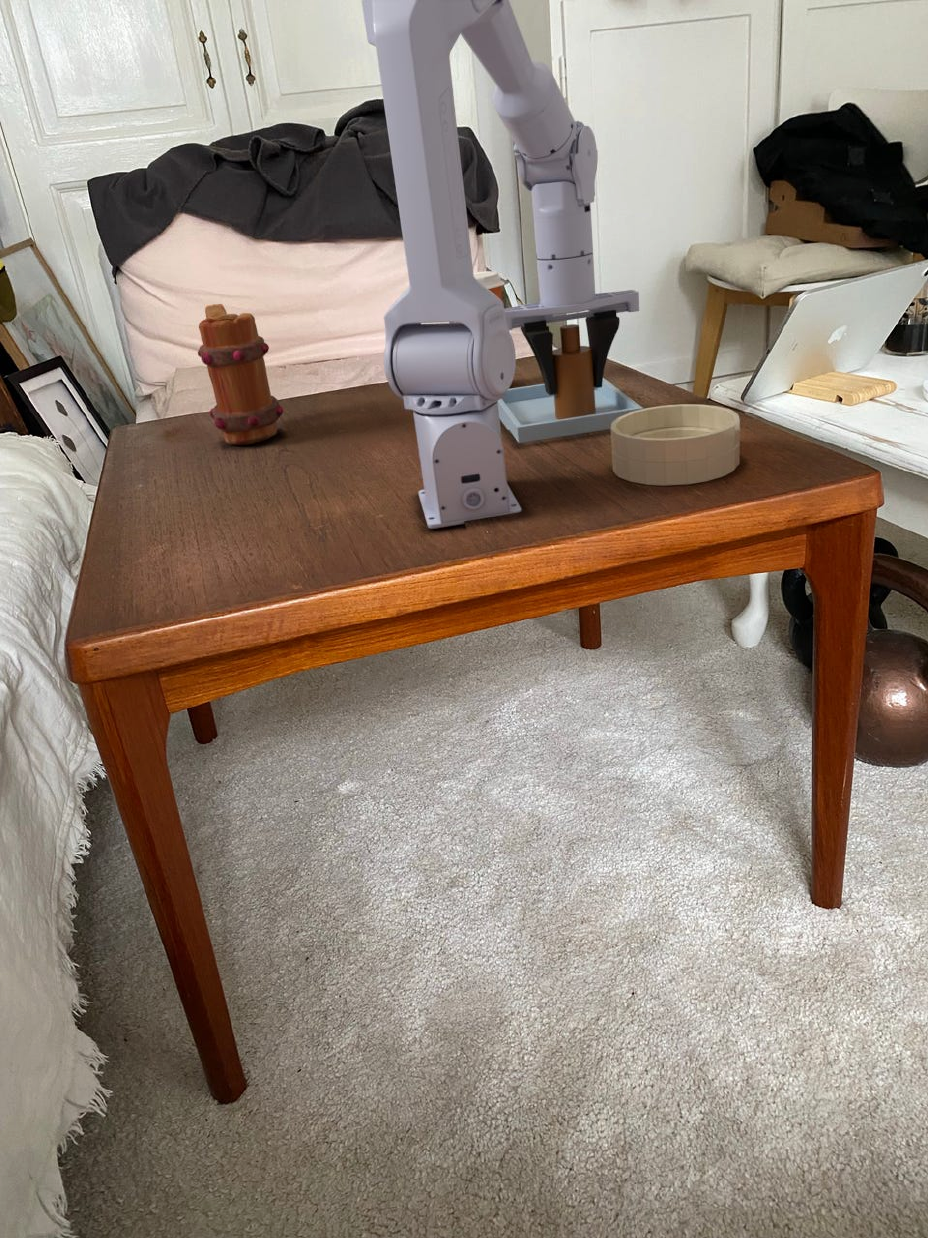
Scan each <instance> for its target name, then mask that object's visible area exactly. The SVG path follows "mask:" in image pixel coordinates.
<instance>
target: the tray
mask: <svg viewBox="0 0 928 1238" xmlns="http://www.w3.org/2000/svg"><path fill="white" fill-rule="evenodd" d="M594 390H595V407H596V414H592V415H585V416H579V417H572V418H566V419H559V420H558V419H556V417H555V405H554V395H549V394H548V393H547V392H546V389H545V384H544V383H537V384H532V385H526V386H519V387H512V388H509V389H508V390H507V392H506V394H505V396H504V397H503V398H501V399H500V400H498V410H499V420H500V422H501V423H502V424H503V426H504V427H505V428H506V430H507V431H510V433H511V434H512V436H513V437H514V438H515V440H516V441H517V443H518V444H522V443H523V444H524V443H529V442H536V441H542V440H549V439H555V438H560V437H568V436H575V435H580V434H586V433H593V432H600V431H605V430H611V423H612V422H613V421H615V420H616V419H617V418H618V417H621V416H623V415H625V414H628V413H630V412H634V411H638V410H642V409H644V407H643V406H641V405H640V404H638V403H637V402H636V401H634V400H633V399H632V398H631V397H629V395H627V394H625V393H624V391H623V392H622V390H620V389H619V388H618V387H617V386H615V385H613V383H610V381H608V380H607V379H605V377H603V382H602V387H599V388H595V387H594Z"/></svg>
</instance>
